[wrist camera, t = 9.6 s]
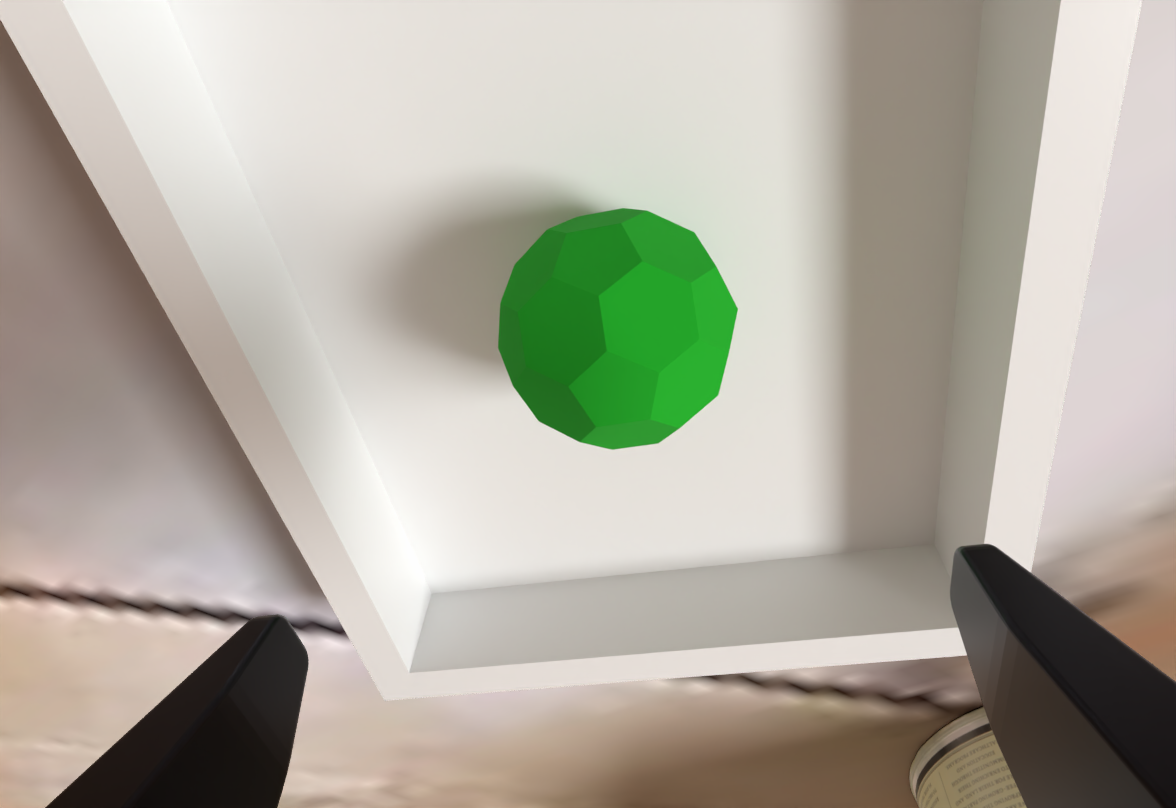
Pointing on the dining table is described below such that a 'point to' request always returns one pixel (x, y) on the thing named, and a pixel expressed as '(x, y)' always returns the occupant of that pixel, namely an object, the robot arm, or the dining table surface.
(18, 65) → the dining table surface
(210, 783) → the robot arm
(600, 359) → the polyhedron
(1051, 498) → the dining table surface
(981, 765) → the coffee can
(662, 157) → the white tray
